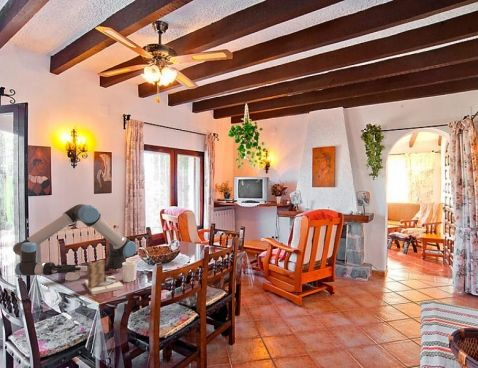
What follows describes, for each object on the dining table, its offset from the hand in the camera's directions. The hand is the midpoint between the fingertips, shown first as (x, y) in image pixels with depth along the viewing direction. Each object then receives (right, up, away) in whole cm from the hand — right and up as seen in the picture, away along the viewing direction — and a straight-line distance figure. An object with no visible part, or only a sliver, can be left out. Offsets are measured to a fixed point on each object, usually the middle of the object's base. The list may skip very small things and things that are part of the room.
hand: (86, 268), depth 178 cm
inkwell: (-18, -14, +25) cm, 33 cm away
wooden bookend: (+6, -12, +6) cm, 15 cm away
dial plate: (+6, -14, +9) cm, 18 cm away
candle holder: (+18, -15, +21) cm, 32 cm away
